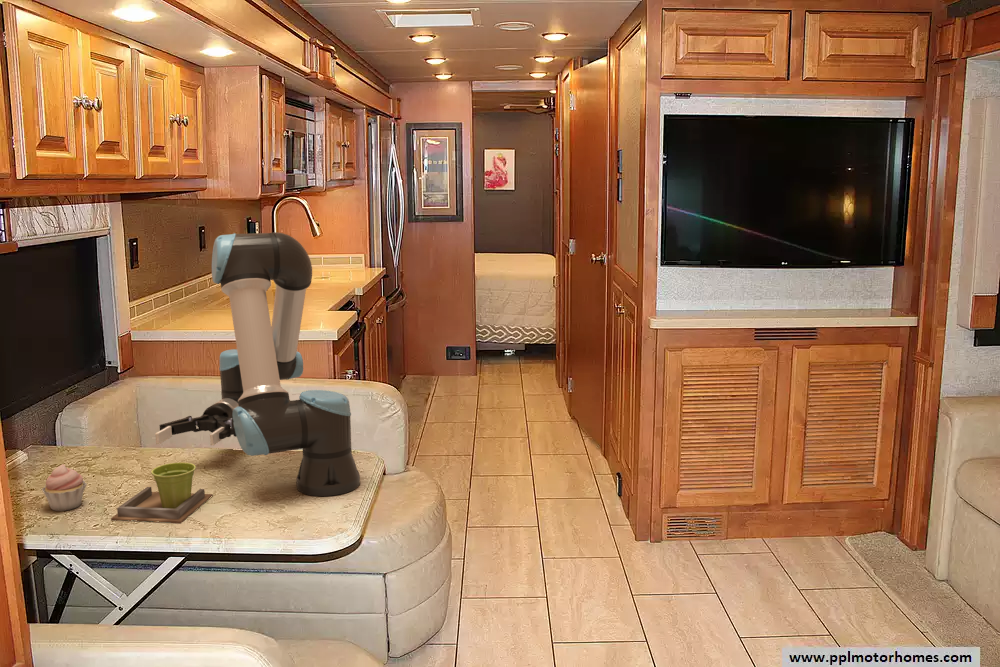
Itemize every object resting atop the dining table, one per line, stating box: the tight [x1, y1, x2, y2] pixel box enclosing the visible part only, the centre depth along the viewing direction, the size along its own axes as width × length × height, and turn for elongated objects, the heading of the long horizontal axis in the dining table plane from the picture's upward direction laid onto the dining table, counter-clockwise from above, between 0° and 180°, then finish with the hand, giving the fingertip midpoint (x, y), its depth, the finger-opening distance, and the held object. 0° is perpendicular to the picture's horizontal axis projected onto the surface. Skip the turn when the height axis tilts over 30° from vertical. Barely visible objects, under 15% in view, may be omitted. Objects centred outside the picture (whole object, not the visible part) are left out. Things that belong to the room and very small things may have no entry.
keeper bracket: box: [110, 486, 214, 524], centre depth 195 cm, size 16×16×2 cm
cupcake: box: [41, 463, 88, 512], centre depth 196 cm, size 9×9×10 cm
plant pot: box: [150, 462, 196, 509], centre depth 195 cm, size 9×9×9 cm
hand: (184, 439), depth 205 cm, fingers open, 13 cm apart
